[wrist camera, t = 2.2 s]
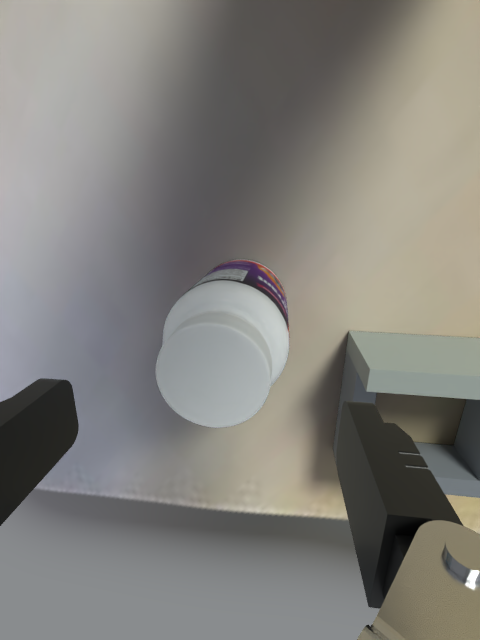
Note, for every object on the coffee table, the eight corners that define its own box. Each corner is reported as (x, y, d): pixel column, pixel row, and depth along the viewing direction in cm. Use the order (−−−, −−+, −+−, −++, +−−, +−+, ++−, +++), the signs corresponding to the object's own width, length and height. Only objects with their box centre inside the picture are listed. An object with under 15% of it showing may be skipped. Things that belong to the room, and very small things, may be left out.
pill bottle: (296, 331, 20) (308, 432, 11) (215, 349, 21) (166, 456, 12) (273, 246, 19) (267, 282, 10) (188, 270, 20) (108, 324, 11)
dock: (348, 330, 20) (370, 369, 15) (506, 339, 19) (580, 382, 14) (332, 449, 23) (346, 511, 18) (468, 461, 22) (520, 531, 17)
